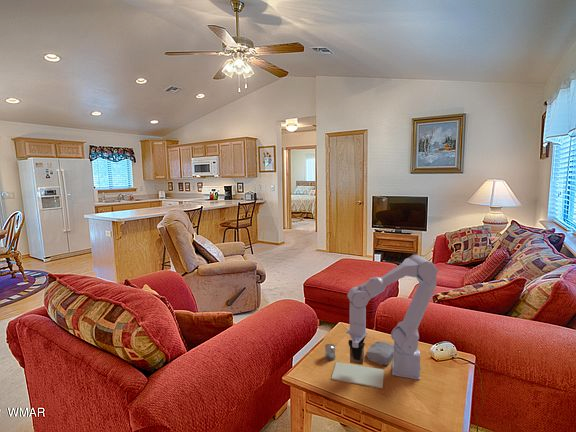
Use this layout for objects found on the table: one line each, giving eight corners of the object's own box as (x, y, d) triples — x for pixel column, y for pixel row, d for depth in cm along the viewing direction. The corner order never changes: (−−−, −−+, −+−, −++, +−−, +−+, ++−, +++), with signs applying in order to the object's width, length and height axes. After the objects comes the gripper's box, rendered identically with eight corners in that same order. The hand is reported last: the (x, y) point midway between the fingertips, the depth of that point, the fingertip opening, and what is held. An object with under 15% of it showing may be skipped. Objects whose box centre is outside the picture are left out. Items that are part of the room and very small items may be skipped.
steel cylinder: (336, 355, 131) (335, 344, 130) (334, 361, 127) (334, 349, 127) (326, 354, 132) (326, 343, 132) (324, 359, 129) (324, 348, 128)
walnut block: (363, 357, 119) (363, 342, 118) (362, 364, 115) (362, 349, 114) (351, 355, 121) (351, 341, 120) (350, 362, 116) (349, 347, 115)
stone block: (365, 363, 128) (389, 367, 122) (363, 351, 128) (387, 354, 122) (376, 350, 138) (399, 353, 132) (374, 339, 138) (397, 341, 132)
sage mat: (383, 370, 120) (383, 369, 120) (382, 388, 111) (382, 387, 111) (336, 363, 126) (336, 361, 126) (331, 379, 117) (331, 378, 117)
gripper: (349, 310, 123) (349, 343, 125) (343, 329, 110) (343, 365, 112) (368, 312, 121) (368, 345, 123) (364, 331, 107) (364, 368, 110)
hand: (357, 355), depth 117 cm, fingers closed on walnut block, 4 cm apart
